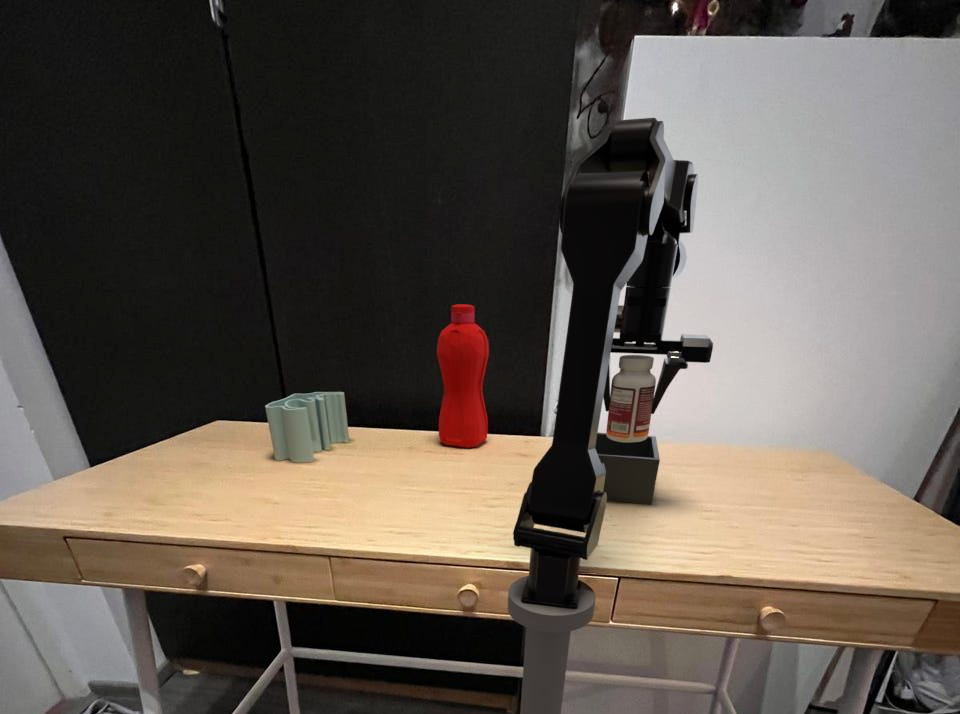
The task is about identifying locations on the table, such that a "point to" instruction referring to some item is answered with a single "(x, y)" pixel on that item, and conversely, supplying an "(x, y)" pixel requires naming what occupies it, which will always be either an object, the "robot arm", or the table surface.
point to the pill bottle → (631, 399)
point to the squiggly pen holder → (306, 424)
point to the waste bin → (629, 468)
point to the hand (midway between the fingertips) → (629, 412)
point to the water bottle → (463, 379)
